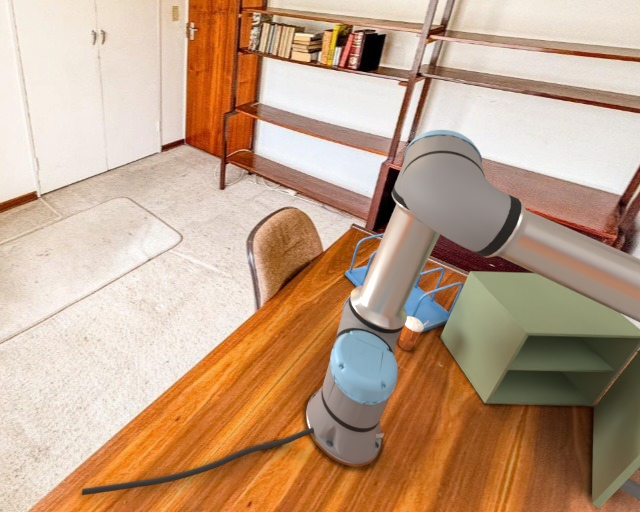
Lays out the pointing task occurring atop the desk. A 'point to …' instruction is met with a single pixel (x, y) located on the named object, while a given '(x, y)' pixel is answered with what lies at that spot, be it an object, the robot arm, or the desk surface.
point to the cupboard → (536, 340)
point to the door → (617, 436)
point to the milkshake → (410, 333)
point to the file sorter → (412, 294)
